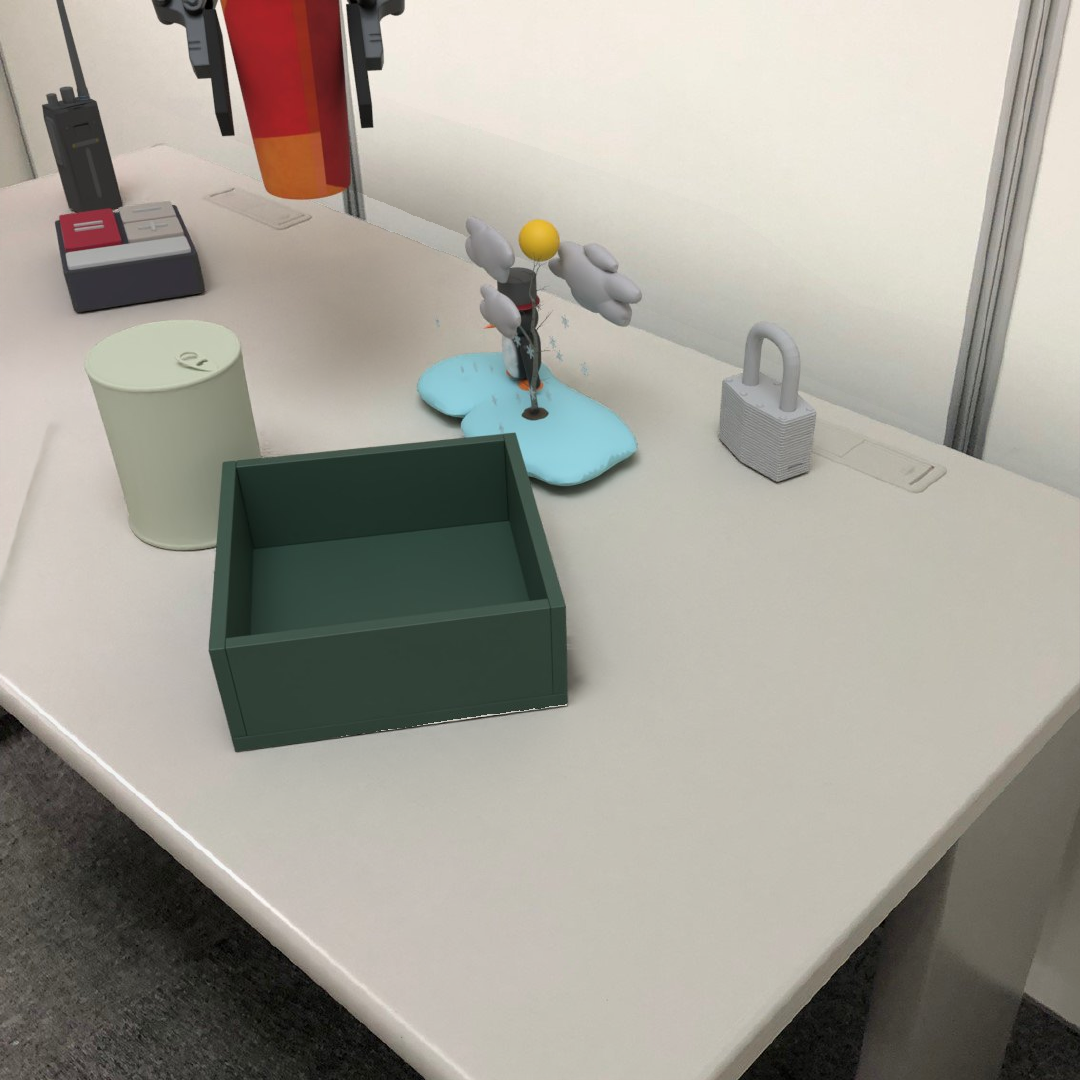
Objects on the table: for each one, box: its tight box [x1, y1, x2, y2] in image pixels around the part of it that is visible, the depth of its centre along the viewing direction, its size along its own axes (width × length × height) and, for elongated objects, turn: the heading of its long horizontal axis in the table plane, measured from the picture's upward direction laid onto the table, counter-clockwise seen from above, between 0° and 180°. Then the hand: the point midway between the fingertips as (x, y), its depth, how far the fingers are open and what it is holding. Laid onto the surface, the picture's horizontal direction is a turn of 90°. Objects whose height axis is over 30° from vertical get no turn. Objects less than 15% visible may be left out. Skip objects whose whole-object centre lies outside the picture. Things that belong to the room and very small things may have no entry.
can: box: [84, 319, 263, 551], centre depth 77 cm, size 9×9×12 cm
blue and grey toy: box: [416, 216, 643, 487], centre depth 84 cm, size 20×11×15 cm, turn 32°
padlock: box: [717, 320, 817, 483], centre depth 83 cm, size 7×4×10 cm, turn 31°
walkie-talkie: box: [41, 0, 123, 213], centre depth 117 cm, size 5×3×20 cm
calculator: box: [54, 200, 206, 313], centre depth 109 cm, size 11×4×15 cm
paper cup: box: [219, 0, 352, 201], centre depth 75 cm, size 8×8×14 cm
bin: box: [207, 433, 569, 753], centre depth 69 cm, size 18×18×7 cm
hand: (296, 120), depth 73 cm, fingers closed on paper cup, 8 cm apart
